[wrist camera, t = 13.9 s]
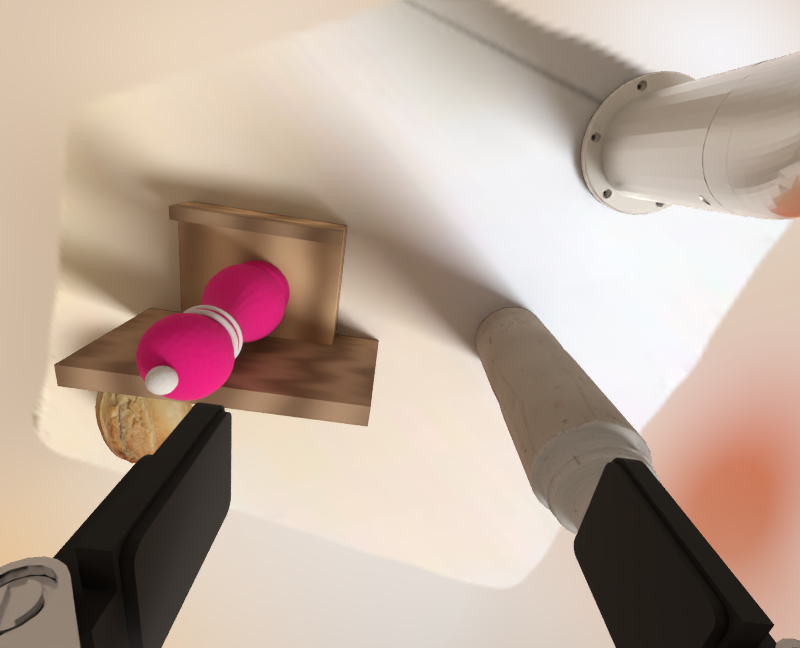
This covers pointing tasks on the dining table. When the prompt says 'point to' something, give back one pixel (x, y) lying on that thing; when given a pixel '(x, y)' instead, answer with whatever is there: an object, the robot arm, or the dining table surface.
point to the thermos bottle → (553, 413)
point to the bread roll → (136, 423)
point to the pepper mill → (212, 331)
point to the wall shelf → (267, 357)
